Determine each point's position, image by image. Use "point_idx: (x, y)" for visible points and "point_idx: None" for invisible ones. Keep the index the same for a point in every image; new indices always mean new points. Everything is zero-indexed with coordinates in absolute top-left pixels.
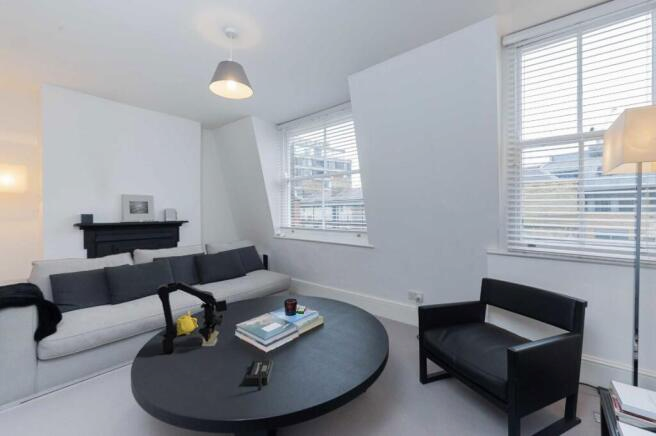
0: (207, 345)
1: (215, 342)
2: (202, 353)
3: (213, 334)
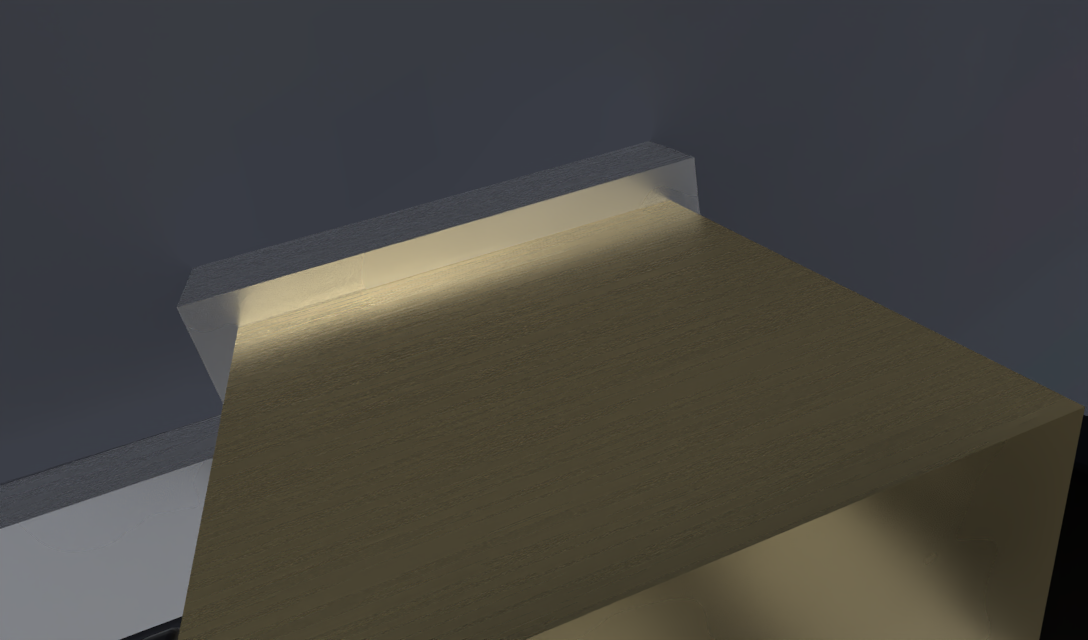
0: None
1: (470, 203)
2: (1049, 216)
3: (871, 385)
